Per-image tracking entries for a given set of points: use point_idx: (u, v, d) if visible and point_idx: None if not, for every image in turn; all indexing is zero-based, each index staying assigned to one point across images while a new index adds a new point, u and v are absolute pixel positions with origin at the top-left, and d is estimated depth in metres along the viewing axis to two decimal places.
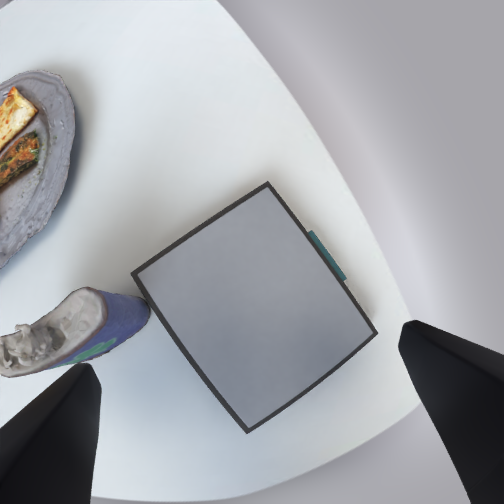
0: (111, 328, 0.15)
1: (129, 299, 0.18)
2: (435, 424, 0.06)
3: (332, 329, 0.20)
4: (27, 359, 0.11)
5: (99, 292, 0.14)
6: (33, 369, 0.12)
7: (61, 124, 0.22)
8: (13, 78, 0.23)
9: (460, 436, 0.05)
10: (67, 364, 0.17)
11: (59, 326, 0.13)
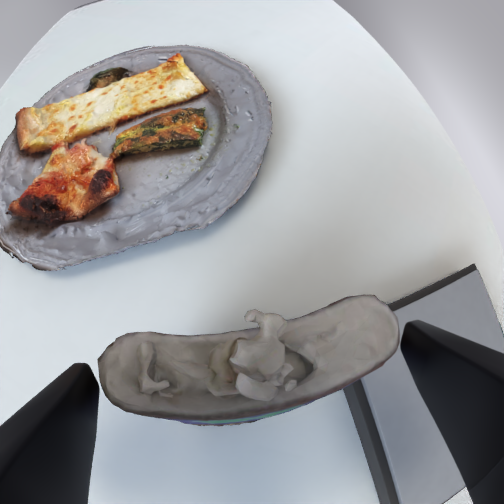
0: None
1: None
2: (437, 423, 0.06)
3: None
4: (265, 384, 0.06)
5: None
6: (214, 412, 0.07)
7: (246, 116, 0.22)
8: (177, 46, 0.25)
9: (462, 435, 0.05)
10: (203, 422, 0.12)
11: (300, 348, 0.08)
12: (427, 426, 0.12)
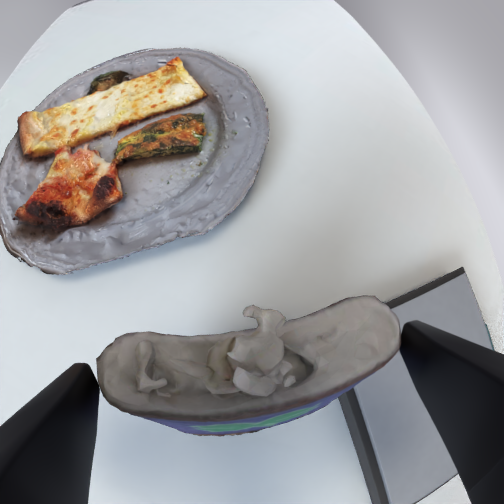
0: None
1: None
2: (435, 424, 0.06)
3: None
4: (262, 379, 0.06)
5: None
6: (213, 412, 0.07)
7: (244, 122, 0.22)
8: (176, 49, 0.26)
9: (460, 436, 0.05)
10: (203, 430, 0.11)
11: (300, 349, 0.08)
12: (412, 421, 0.14)
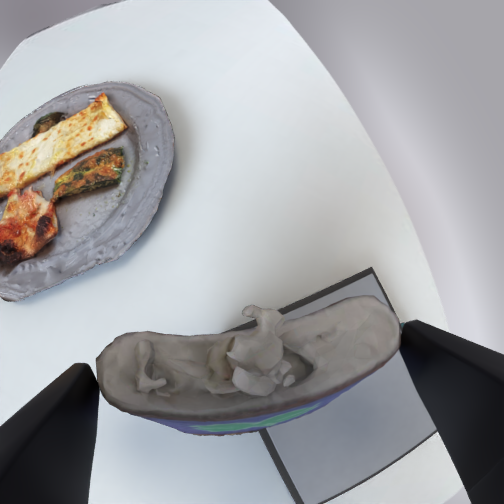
0: None
1: None
2: (435, 424, 0.06)
3: (407, 420, 0.17)
4: (262, 379, 0.06)
5: None
6: (212, 411, 0.07)
7: (155, 151, 0.25)
8: (103, 84, 0.27)
9: (460, 436, 0.05)
10: (203, 430, 0.11)
11: (299, 349, 0.08)
12: (311, 421, 0.17)
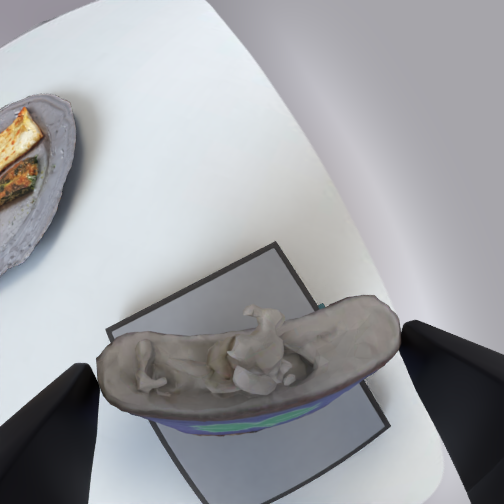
0: None
1: None
2: (435, 424, 0.06)
3: (336, 421, 0.15)
4: (262, 378, 0.06)
5: None
6: (212, 411, 0.07)
7: (61, 154, 0.22)
8: (26, 99, 0.24)
9: (460, 436, 0.05)
10: (203, 430, 0.11)
11: (300, 349, 0.08)
12: None
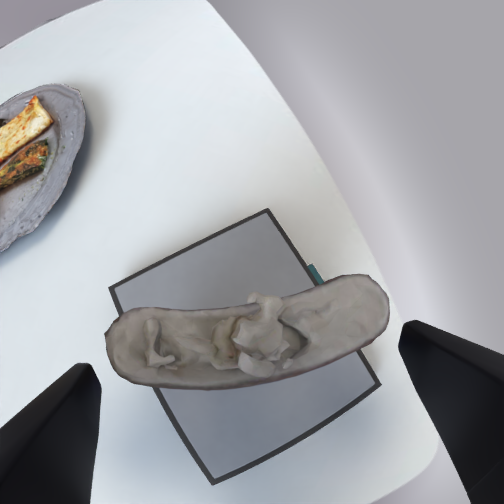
0: None
1: None
2: (435, 424, 0.06)
3: (326, 375, 0.16)
4: (264, 363, 0.07)
5: None
6: (216, 383, 0.08)
7: (71, 136, 0.24)
8: (37, 88, 0.26)
9: (460, 436, 0.05)
10: None
11: (295, 323, 0.09)
12: None
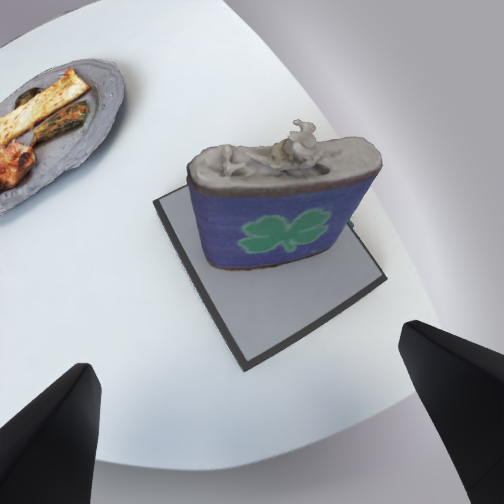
0: (360, 194, 0.15)
1: None
2: (435, 424, 0.06)
3: (340, 264, 0.20)
4: (308, 149, 0.11)
5: None
6: (272, 185, 0.12)
7: (110, 96, 0.28)
8: (71, 63, 0.30)
9: (460, 436, 0.05)
10: (242, 248, 0.17)
11: (320, 161, 0.13)
12: None
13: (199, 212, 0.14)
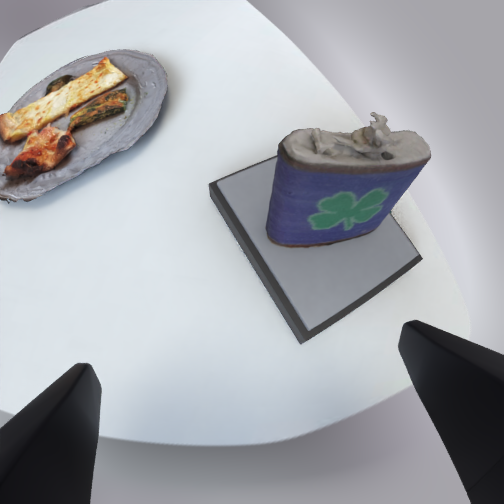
0: (412, 179, 0.16)
1: None
2: (435, 424, 0.06)
3: (384, 244, 0.22)
4: (386, 136, 0.12)
5: None
6: (355, 164, 0.14)
7: (152, 85, 0.29)
8: (104, 52, 0.32)
9: (460, 436, 0.05)
10: (310, 224, 0.19)
11: None
12: None
13: (283, 186, 0.16)
